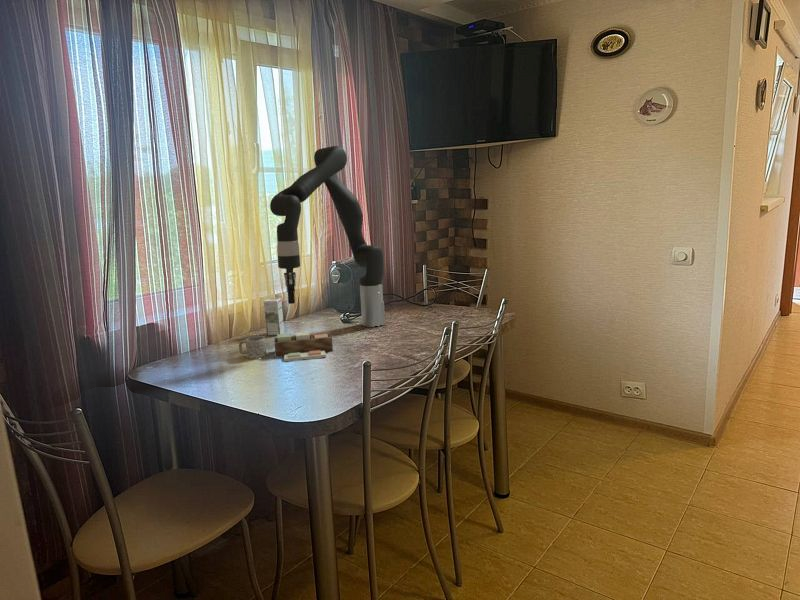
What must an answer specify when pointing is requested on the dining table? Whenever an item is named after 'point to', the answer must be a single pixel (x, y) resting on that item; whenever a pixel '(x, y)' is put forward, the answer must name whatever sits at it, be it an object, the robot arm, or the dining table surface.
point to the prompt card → (304, 355)
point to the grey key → (302, 335)
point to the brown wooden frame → (303, 345)
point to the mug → (254, 347)
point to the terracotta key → (321, 336)
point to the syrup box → (273, 316)
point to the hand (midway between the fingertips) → (291, 303)
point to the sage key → (284, 337)
